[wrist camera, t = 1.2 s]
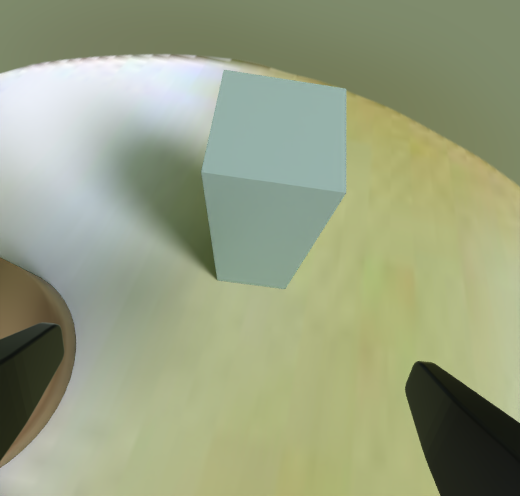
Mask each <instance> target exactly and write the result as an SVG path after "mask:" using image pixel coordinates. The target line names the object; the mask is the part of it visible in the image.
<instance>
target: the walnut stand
mask: <svg viewBox="0 0 520 496" xmlns="http://www.w3.org/2000/svg"><path fill="white" fill-rule="evenodd" d="M38 323H54V324H58V325H60V327H61V329H62V336H63V342H64V349H65V352H64V357H63V360H62V362H61V364H60V366H59V367H58V369H57V371H56V373H55V374H54V376H53V378H52V380H51V382H50V383H49V385H48V387H47V389H46V390H45V392H44V394H43V396H42V398H41V399H40V401H39V403H38V405H37V407H36V408H35V410H34V412H33V413H32V415H31V417H30V418H29V420H28V422H27V423H26V425H25V426H24V428H23V429H22V431H21V432H20V434H19V435H18V437H17V438H16V440H15V441H14V442H13V444H12V445H11V447H10V448H9V450H8V451H7V453H6V454H5V456H4V457H3V458H2V460H1V461H0V468H1V467H2V466H4V465H5V464H7V463H8V462H9V461H10V460H12V459H13V458H14V457H15V456H16V455H18V454H19V453H20V452H21V451H22V450H23V449H24V448H25V447H26V446H27V445H28V444H29V443H30V442H31V441H32V440H33V439H34V438H35V437H36V436H37V435H38V434H39V432H40V431H41V430H42V429H43V428H44V426H45V425H46V424H47V423H48V421H49V419H50V418H51V416H52V415H53V413H54V412H55V410H56V409H57V407H58V405H59V403H60V401H61V399H62V397H63V395H64V393H65V391H66V388H67V386H68V383H69V381H70V378H71V374H72V370H73V366H74V360H75V352H76V335H75V328H74V323H73V319H72V316H71V313H70V311H69V309H68V307H67V305H66V303H65V301H64V300H63V298H62V297H61V295H60V294H59V293H58V292H57V291H56V290H55V289H54V288H53V287H52V286H51V285H50V284H49V283H47V282H46V281H45V280H43V279H42V278H40V277H38V276H36V275H34V274H32V273H30V272H28V271H26V270H24V269H22V268H20V267H18V266H16V265H14V264H12V263H10V262H8V261H6V260H4V259H2V258H0V339H2V338H5V337H7V336H9V335H12V334H14V333H17V332H19V331H21V330H24V329H26V328H29V327H31V326H33V325H36V324H38Z"/></svg>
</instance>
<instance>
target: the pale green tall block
mask: <svg viewBox="0 0 520 496" xmlns="http://www.w3.org/2000/svg"><path fill="white" fill-rule="evenodd" d="M201 174H202V181H203V188H204V194H205V201H206V208H207V214H208V221H209V227H210V234H211V241H212V247H213V254H214V261H215V267H216V274H217V280H219V281H227V282H235V283H242V284H250V285H258V286H265V287H273V288H281V289H286V287H287V285H288V284H289V282H290V281H291V279H292V278H293V276H294V274H295V273H296V271H297V270H298V268H299V267H300V265H301V263H302V262H303V260H304V259H305V257H306V255H307V254H308V252H309V251H310V249H311V248H312V246H313V244H314V243H315V241H316V240H317V238H318V237H319V235H320V233H321V232H322V230H323V229H324V227H325V225H326V224H327V222H328V221H329V219H330V218H331V216H332V214H333V213H334V211H335V210H336V208H337V206H338V205H339V203H340V202H341V200H342V199H343V197H344V195H345V194H346V89H344V88H338V87H331V86H325V85H319V84H312V83H306V82H299V81H293V80H286V79H280V78H274V77H267V76H261V75H254V74H248V73H241V72H235V71H228V70H224V72H223V76H222V81H221V85H220V90H219V94H218V99H217V103H216V108H215V112H214V117H213V121H212V126H211V130H210V135H209V139H208V144H207V148H206V153H205V157H204V162H203V166H202V171H201Z"/></svg>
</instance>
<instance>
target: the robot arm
mask: <svg viewBox="0 0 520 496" xmlns="http://www.w3.org/2000/svg"><path fill="white" fill-rule="evenodd" d="M64 352H65V349H64V342H63V336H62V329H61V327H60V325H58V324H54V323H38V324H36V325H33V326H31V327H29V328H26V329H24V330H21V331H19V332H17V333H14V334H12V335H9V336H7V337H5V338H2V339H0V461H1V460H2V458H3V457H4V456H5V454H6V453H7V451H8V450H9V448H10V447H11V445H12V444H13V442H14V441H15V440H16V438H17V437H18V435H19V434H20V432H21V431H22V429H23V428H24V426H25V425H26V423H27V422H28V420H29V418H30V417H31V415H32V413H33V412H34V410H35V408H36V407H37V405H38V403H39V401H40V399H41V398H42V396H43V394H44V392H45V390H46V389H47V387H48V385H49V383H50V382H51V380H52V378H53V376H54V374H55V373H56V371H57V369H58V367H59V366H60V364H61V362H62V360H63V357H64ZM405 392H406V397H407V400H408V403H409V407H410V410H411V413H412V416H413V420H414V423H415V426H416V430H417V433H418V436H419V440H420V443H421V446H422V449H423V452H424V455H425V458H426V461H427V463H428V466H429V469H430V471H431V474H432V476H433V478H434V481H435V483H436V486H437V488H438V491H439V493H440V496H520V423H519V422H518V421H516V420H515V419H513V418H512V417H510V416H509V415H508V414H506V413H505V412H503V411H502V410H500V409H499V408H498V407H496V406H495V405H493V404H492V403H490V402H489V401H487V400H486V399H485V398H483V397H482V396H480V395H479V394H477V393H476V392H475V391H473V390H472V389H470V388H469V387H467V386H466V385H465V384H463V383H462V382H460V381H459V380H457V379H456V378H455V377H453V376H452V375H450V374H449V373H447V372H446V371H445V370H443V369H442V368H440V367H439V366H437V365H436V364H434V363H432V362H424V361H417V362H415V363H414V365H413V367H412V370H411V372H410V375H409V377H408V380H407V382H406V386H405Z"/></svg>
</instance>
